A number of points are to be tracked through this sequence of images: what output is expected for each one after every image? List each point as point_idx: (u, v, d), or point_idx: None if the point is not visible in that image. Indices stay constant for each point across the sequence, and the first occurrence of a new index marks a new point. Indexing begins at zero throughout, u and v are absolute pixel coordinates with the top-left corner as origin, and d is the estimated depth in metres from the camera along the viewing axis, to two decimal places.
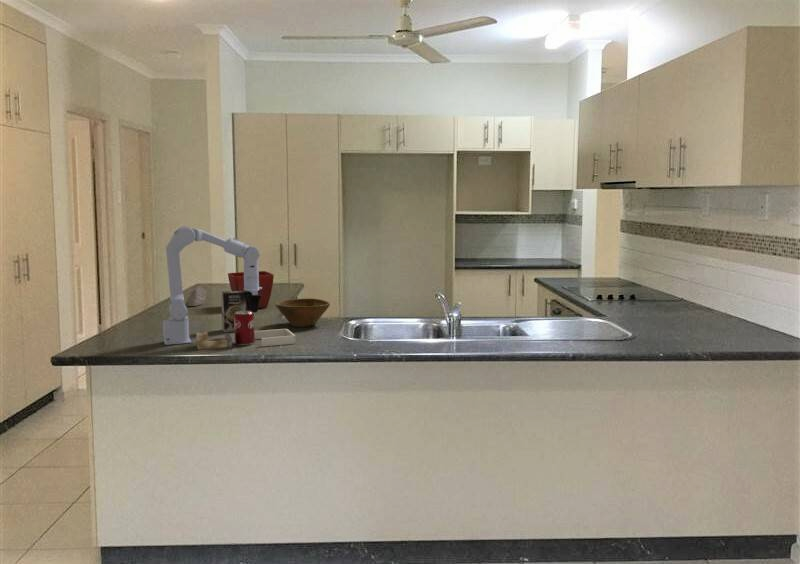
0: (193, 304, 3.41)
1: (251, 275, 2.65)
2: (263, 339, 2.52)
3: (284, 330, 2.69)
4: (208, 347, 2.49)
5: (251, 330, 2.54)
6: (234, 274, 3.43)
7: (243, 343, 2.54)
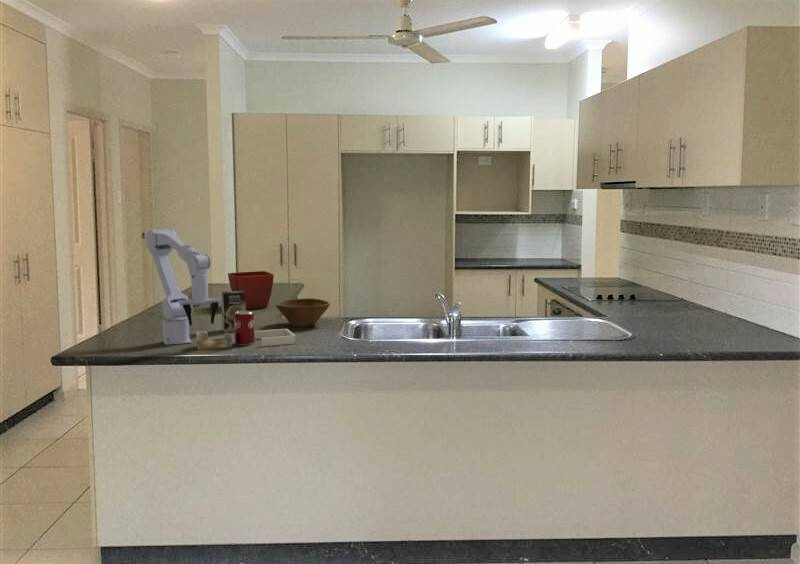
0: None
1: (192, 286, 2.46)
2: (263, 339, 2.52)
3: (284, 330, 2.69)
4: (208, 347, 2.49)
5: (251, 330, 2.54)
6: (234, 274, 3.43)
7: (243, 343, 2.54)
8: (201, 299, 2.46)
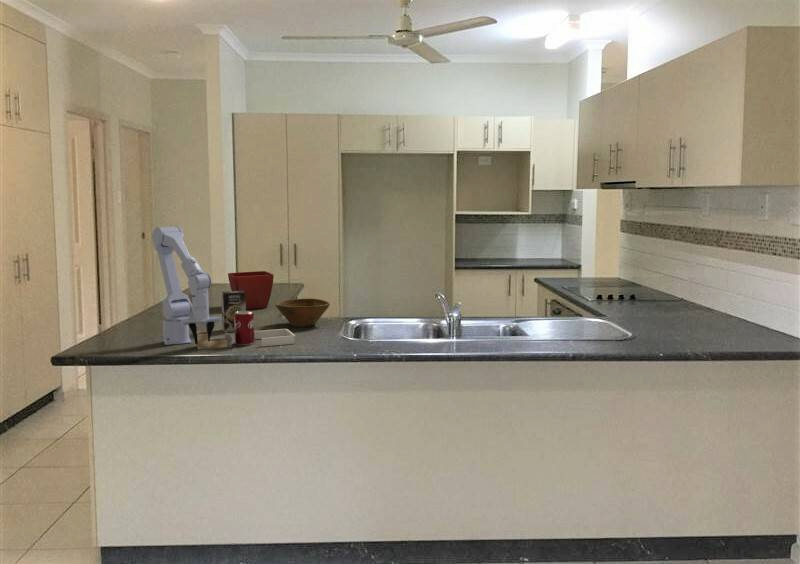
0: None
1: (193, 305, 2.47)
2: (263, 339, 2.52)
3: (284, 330, 2.69)
4: (208, 347, 2.49)
5: (251, 330, 2.54)
6: (234, 274, 3.43)
7: (243, 343, 2.54)
8: (202, 318, 2.47)
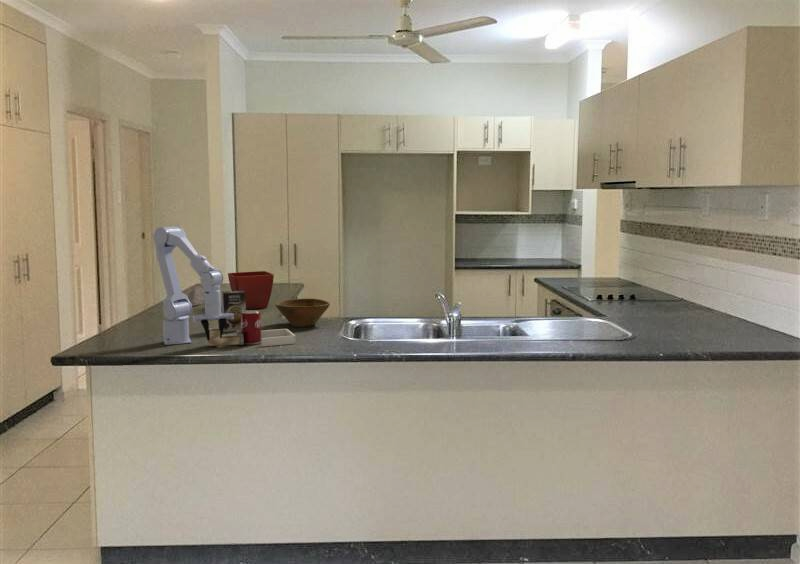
0: None
1: (206, 302, 2.48)
2: (263, 339, 2.52)
3: (284, 330, 2.69)
4: (220, 344, 2.51)
5: (258, 330, 2.55)
6: (234, 274, 3.43)
7: (250, 342, 2.54)
8: (214, 315, 2.49)
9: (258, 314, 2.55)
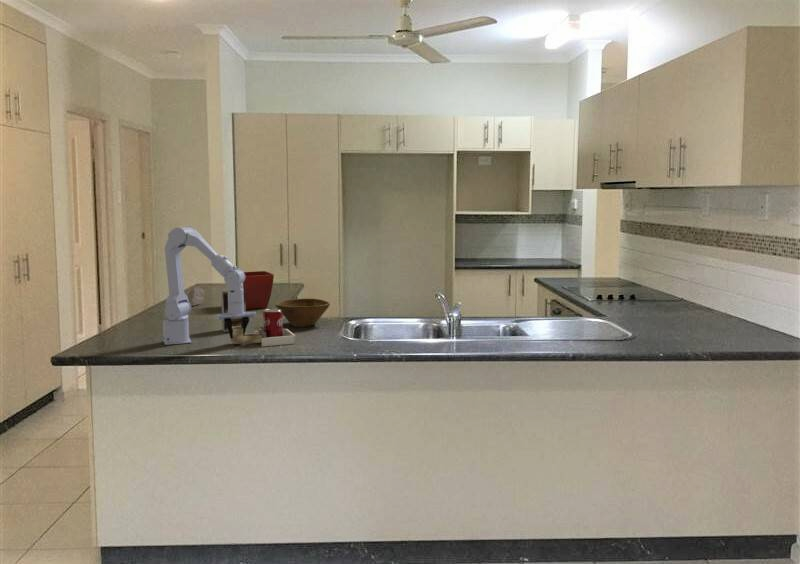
0: (191, 304, 3.41)
1: (231, 300, 2.51)
2: (263, 339, 2.52)
3: (284, 330, 2.69)
4: (243, 342, 2.54)
5: (280, 328, 2.59)
6: None
7: None
8: (237, 313, 2.52)
9: (280, 312, 2.58)
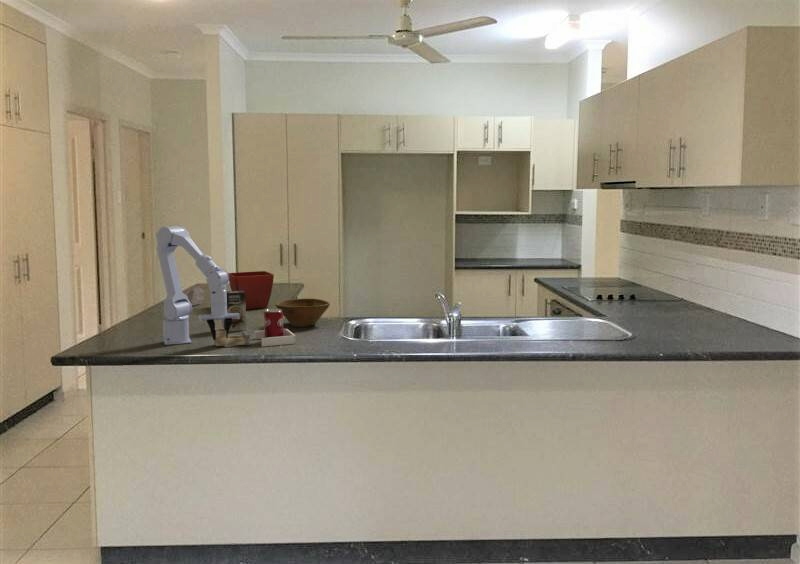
0: None
1: (213, 301, 2.49)
2: (263, 339, 2.52)
3: (284, 330, 2.69)
4: (226, 344, 2.52)
5: (280, 328, 2.59)
6: (234, 274, 3.43)
7: None
8: (220, 314, 2.50)
9: (281, 313, 2.58)
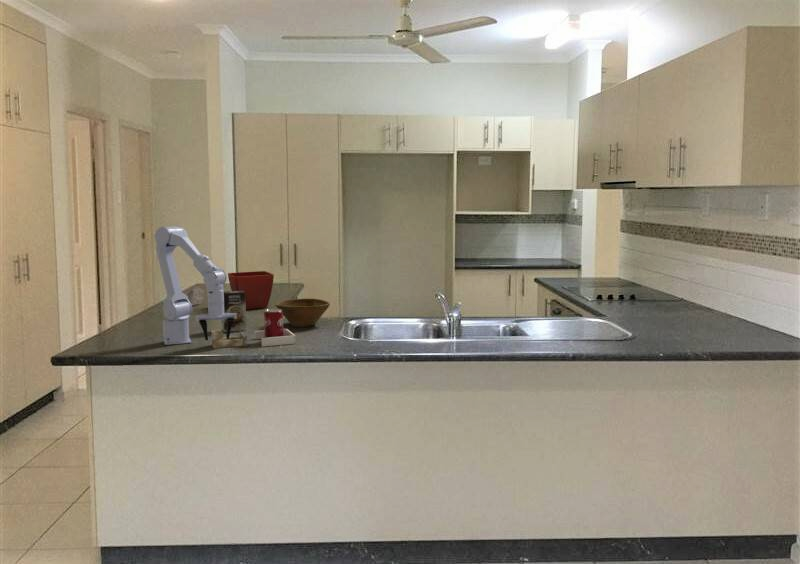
0: None
1: (210, 301, 2.49)
2: (263, 339, 2.52)
3: (284, 330, 2.69)
4: (223, 346, 2.51)
5: (280, 328, 2.59)
6: (234, 274, 3.43)
7: None
8: (217, 314, 2.49)
9: (281, 313, 2.58)
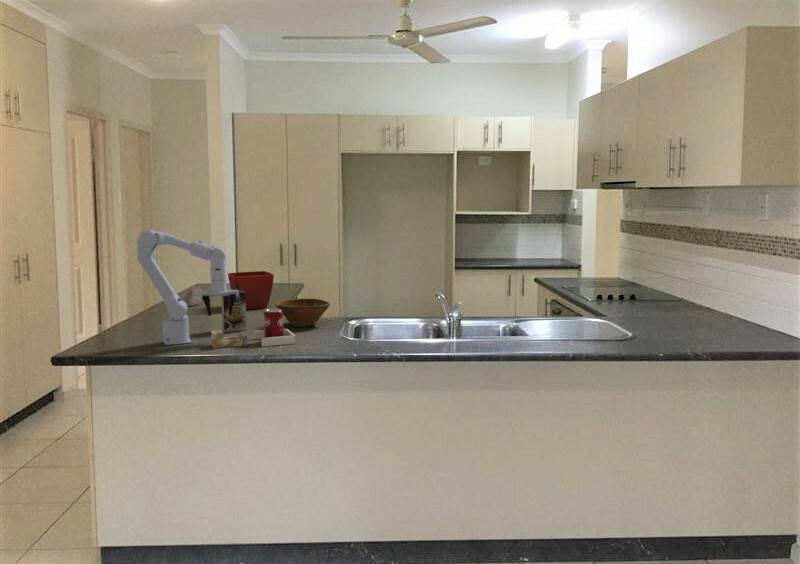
0: (189, 304, 3.41)
1: (216, 278, 2.58)
2: (263, 339, 2.52)
3: (284, 330, 2.69)
4: (223, 346, 2.51)
5: (280, 328, 2.59)
6: (234, 274, 3.43)
7: None
8: (220, 291, 2.58)
9: (281, 313, 2.58)
